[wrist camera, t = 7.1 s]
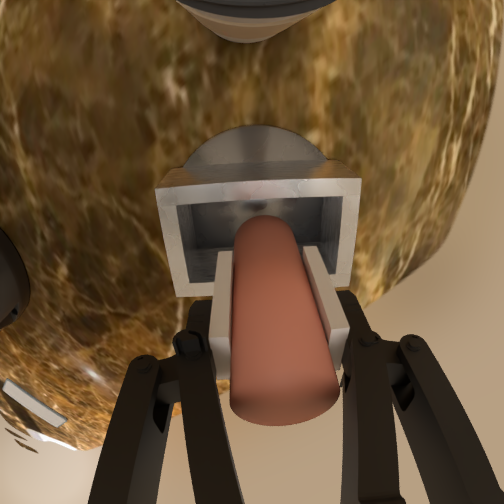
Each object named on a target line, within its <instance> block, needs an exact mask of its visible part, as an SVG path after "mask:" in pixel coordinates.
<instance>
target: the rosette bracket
mask: <svg viewBox="0 0 504 504" xmlns="http://www.w3.org/2000/svg"><path fill="white" fill-rule="evenodd" d="M361 179H362V178H361V177H359V176H358V175H357V174H356V173H354V172H353V171H352V170H351V169H349V168H348V167H347V166H345V165H344V164H343V163H342V162H340V161H339V160H327V159H326V157H325V156H324V155H323V154H322V153H321V152H320V151H319V150H318V149H317V148H316V147H315V146H314V145H313V144H311V143H310V142H309V141H307V140H306V139H304V138H303V137H301V136H300V135H298V134H296V133H294V132H291V131H289V130H286V129H283V128H280V127H276V126H270V125H245V126H239V127H235V128H232V129H228V130H226V131H224V132H221V133H219V134H217V135H215V136H214V137H212V138H210V139H208V140H207V141H206V142H205V143H203V144H202V145H201V146H200V147H199V148H198V149H197V150H196V151H195V152H194V153H193V154H192V155H191V156H190V158H189V159H188V160H187V162H186V163H185V165H184V166H183V168H174V169H171V170H170V171H169V172H168V173H167V174H166V176H165V177H164V178H163V179H162V181H161V182H160V183H159V184H158V186H157V187H156V188H155V194H156V200H157V205H158V211H159V217H160V222H161V227H162V232H163V238H164V243H165V247H166V252H167V257H168V262H169V266H170V271H171V275H172V280H173V284H174V288H175V293H176V297H193V296H213V292H214V283H215V275H216V267H217V259H218V251H232V255H233V262H234V240H235V235H236V233H237V230H238V229H239V227H240V226H241V225H242V224H243V223H244V222H245V221H247V220H248V219H250V218H253V217H255V216H259V215H271V216H275V217H278V218H280V219H282V220H283V221H285V222H286V223H287V224H288V225H289V226H290V228H291V230H292V232H293V234H294V237H295V240H296V243H297V246H298V249H299V253H300V256H301V259H302V262H303V247H305V246H317V248H318V251H319V253H320V255H321V258H322V260H323V262H324V265H325V267H326V269H327V272H328V274H329V277H330V279H331V281H332V284H333V286H334V287H344V286H349V282H350V276H351V269H352V262H353V255H354V247H355V240H356V231H357V222H358V213H359V203H360V192H361Z"/></svg>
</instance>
